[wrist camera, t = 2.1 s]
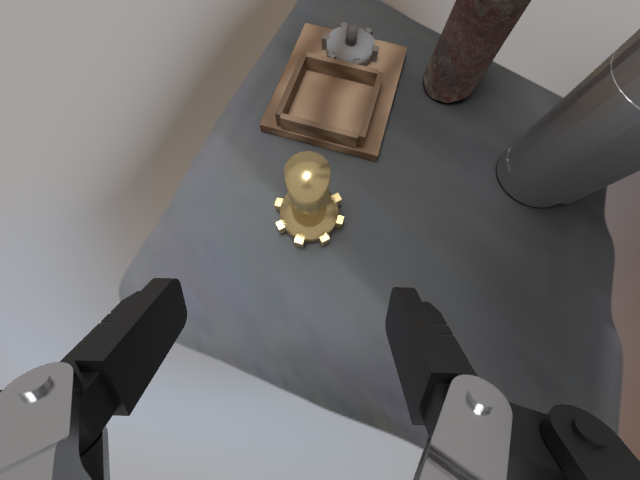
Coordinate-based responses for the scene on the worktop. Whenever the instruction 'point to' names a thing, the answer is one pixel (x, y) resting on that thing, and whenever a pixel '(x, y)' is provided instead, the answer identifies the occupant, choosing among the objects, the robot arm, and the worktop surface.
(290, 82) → the gear board
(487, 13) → the candle
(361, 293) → the worktop surface
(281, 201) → the gear shaft
